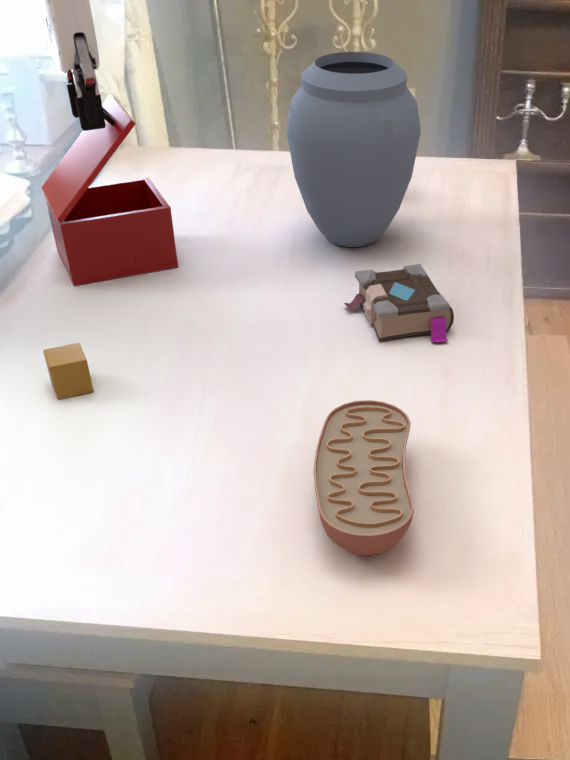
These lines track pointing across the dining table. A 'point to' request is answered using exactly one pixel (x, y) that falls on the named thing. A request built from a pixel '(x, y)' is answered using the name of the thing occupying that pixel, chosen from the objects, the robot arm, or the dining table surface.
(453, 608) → the dining table surface
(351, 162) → the vase
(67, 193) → the red box lid
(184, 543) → the dining table surface
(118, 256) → the red open box
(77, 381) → the brass block
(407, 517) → the anatomical model
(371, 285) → the book
